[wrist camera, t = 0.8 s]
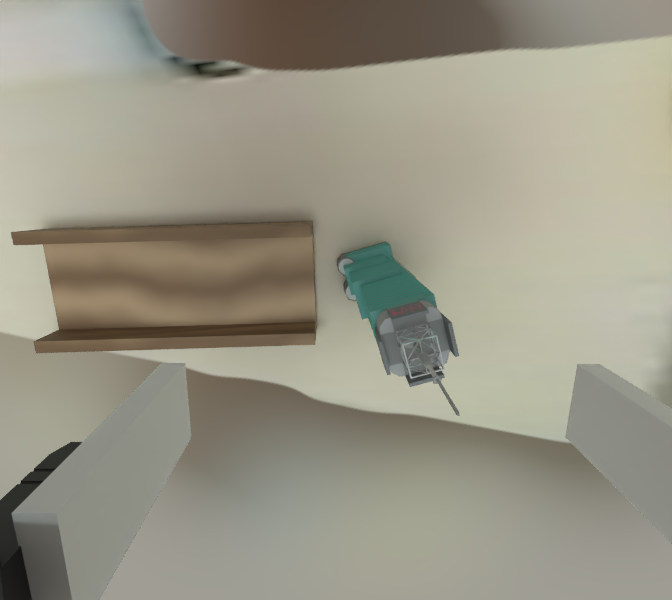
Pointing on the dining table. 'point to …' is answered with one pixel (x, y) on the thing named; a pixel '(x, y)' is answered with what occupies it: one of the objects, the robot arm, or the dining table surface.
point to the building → (399, 315)
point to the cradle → (179, 286)
